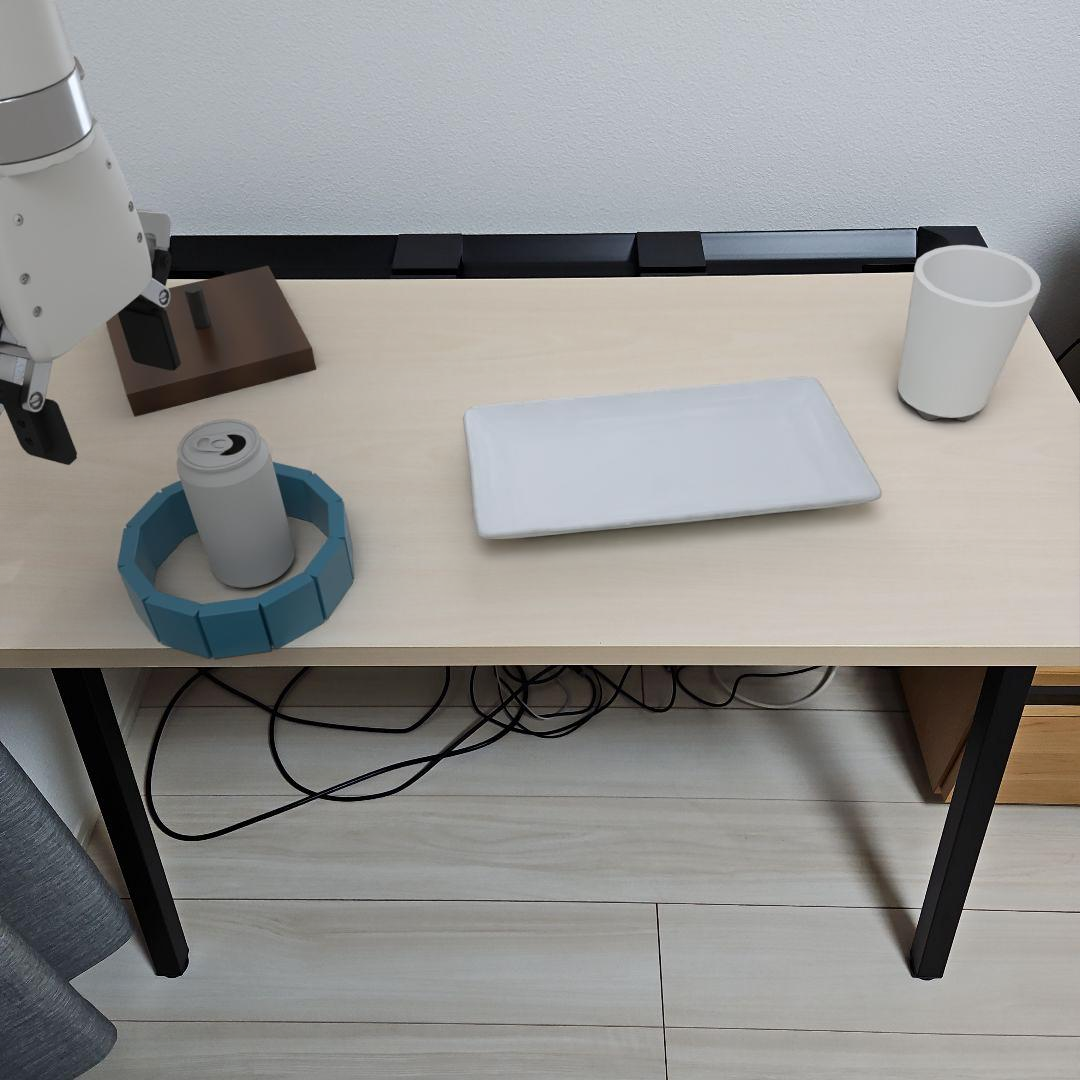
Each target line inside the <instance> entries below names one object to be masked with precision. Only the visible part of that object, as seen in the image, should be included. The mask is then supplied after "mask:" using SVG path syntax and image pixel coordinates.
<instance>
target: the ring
mask: <svg viewBox="0 0 1080 1080" xmlns="http://www.w3.org/2000/svg"><path fill="white" fill-rule="evenodd" d="M272 463H273V466H274V470H275V474H276V478H277V482H278V486H279V490H280V493H281V497H282V501H283V505H284V509H285V513H286V516H287V517H291V518H296V519H300V520H304V521H307V522H312V523H313V524H314V525H315V526H316V527H317V528H318V529H319V530H320V531H321V532H322V533H323V534H324V535H325V536H326V537H327V540H326V541H325V542H324V544H322V546H321V548H319V551H318V552H317V553H316V554H315V555H314V557H313V558H312V559H311V561H310V563H309V564H308V565H307V566H306V568H305V569H304V571H302V572H300V573H298V574H297V575H295V576H292V577H291V578H289V579H288V580H285V581H284V582H282V583H279V584H278V585H276V586H274V587H272V588H271V589H268V590H267V591H265V592H263V593H261V594H258V595H257V596H253V597H244V598H237V599H229V600H222V601H215V602H205V603H200V602H197V601H193V600H190V599H186V598H183V597H179V596H176V595H172V594H169V593H165V592H162V591H158V590H156V588H155V580H156V573H157V570H158V568H159V567H160V566H161V565H162V564H163V563H164V561H165V560H167V558H168V557H169V556H170V555H171V554H172V553H173V551H174V550H175V549H176V548H177V547H178V546H179V545H180V543H181V542H182V541H183V540H184V539H186V538H188V537H190V536H191V535H194V534H195V533H199V532H198V529H197V526H196V524H195V521H194V518H193V515H192V512H191V509H190V506H189V503H188V500H187V497H186V495H185V492H184V489H183V486H182V483H181V480H180V479H179V480H177V481H176V482H173V483H171V484H169V485H167V486H165V487H163V488H161V489H160V491H161V492H160V491H156V492H155V493H154V494H153V495H152V497H150V499H149V500H148V501H147V502H146V503H145V504H144V505H143V506H142V507H141V508H140V509H139V510H138V511H137V512H136V514H134V515H133V516H132V518H130V520H128V522H127V523H125V527H124V528H123V531H122V536H121V541H120V547H119V553H118V559H117V565H116V567H117V570H118V573H119V575H120V577H121V578H120V579H121V581H122V583H123V584H124V587H125V590H126V592H127V594H128V596H129V599H130V601H131V603H132V604H131V605H132V606H133V608H134V611H135V612H136V614H137V615H138V616H139V618H140V619H141V620H142V622H143V623H144V625H145V627H147V629H148V630H149V631H150V633H151V634H152V635H153V637H154V638H155V639H156V641H157V642H158V643H161V645H163V646H166V647H169V648H172V649H175V650H179V651H182V652H186V653H189V654H193V655H195V656H199V657H201V658H205V659H209V660H210V659H211V657H212V656H213V659H214V660H217V659H218V660H219V659H226V658H233V657H239V656H247V655H254V654H260V653H269V652H272V647H273V648H274V650H278V649H280V648H282V647H283V646H286V645H287V644H289V643H291V642H292V641H294V640H296V639H297V638H299V637H300V636H303V635H305V634H306V633H308V632H311V631H312V630H314V629H316V628H317V627H320V625H321V626H322V624H324V623H325V620H329V618H330V616H331V615H332V614H333V613H334V611H335V610H336V608H337V607H338V605H339V604H340V602H341V601H342V599H343V598H344V597H345V595H346V594H347V592H348V591H349V589H350V588H351V586H352V585H353V583H354V580H355V572H354V568H355V567H354V554H353V552H354V551H353V541H352V536H351V531H350V526H349V521H348V516H347V510H346V505H345V501H344V500H343V498H342V497H341V496H340V494H338V493H337V492H336V491H335V490H334V489H333V488H332V487H331V486H330V485H329V484H327V482H326V481H325V480H324V479H322V478H321V476H319V475H318V474H317V473H316V472H314V473H313V471H312V470H309V469H305V468H300V467H296V466H292V465H289V464H284V463H279V462H276V461H272Z"/></svg>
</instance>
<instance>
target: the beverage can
mask: <svg viewBox="0 0 1080 1080" xmlns="http://www.w3.org/2000/svg"><path fill="white" fill-rule="evenodd" d="M176 451H177V460H176V471H177V474H178V477H179V481H180V480H181V483H182V486H183V489H184V492H185V495H186V497H187V500H188V503H189V506H190V509H191V512H192V515H193V518H194V521H195V524H196V526H197V529H198V532H197V533H198V535H199V538H200V542H201V544H202V546H203V549H204V552H205V555H206V558H207V561H208V564H209V567H210V570H211V572H212V574H213V575H214V577H215V578H216V579H217V580H218V581H220V582H221V583H222V584H224V585H227V586H230V587H233V588H241V589H247V588H255V587H260V586H264V585H267V584H270V583H271V582H273V581H275V580H277V579H278V578H279V577H281V576H282V575H283V574H285V573H286V572H287V570H288V569H289V568H290V567H291V565H292V564H293V561H294V559H295V555H296V550H295V544H294V540H293V536H292V532H291V528H290V525H289V520H288V516H287V515H286V513H285V509H284V505H283V501H282V497H281V493H280V490H279V486H278V482H277V478H276V474H275V470H274V466H273V463H272V462H273V459H272V456H271V452H270V448H269V445H268V443H267V442H266V440H265V439H264V438H263V437H262V436H261V434H260V432H259V430H258V429H257V427H255V426H254V425H253V424H251V423H249V422H247V421H245V420H241V419H236V418H235V419H234V418H223V419H216V420H211V421H207V422H204V423H202V424H200V425H197V426H195V427H194V428H192V429H191V430H189V431H188V432H187V433H185V435H183V437H182V438H181V439H180V441H179V443H178V445H177V449H176Z"/></svg>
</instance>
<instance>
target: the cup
mask: <svg viewBox="0 0 1080 1080" xmlns="http://www.w3.org/2000/svg"><path fill="white" fill-rule="evenodd" d="M1041 285H1042V283H1041V280H1040V276H1039V275H1038V273H1037V272H1036V271H1035V269H1033V267H1032V266H1030V265H1029V264H1028V263H1027V262H1026V261H1024V260H1023V259H1021V258H1019V257H1017V256H1015V255H1012V254H1010V253H1008V252H1004V251H1002V250H999V249H995V248H991V247H985V246H981V245H972V244H971V245H970V244H955V245H947V246H943V247H938V248H934V249H932V250H929V251H927V252H925V253H923V254H922V255H921V256H920V257H918V258H917V259H916V262H915V265H914V270H913V277H912V284H911V291H910V297H909V304H908V311H907V317H906V323H905V324H906V325H905V332H904V339H903V344H902V345H903V347H902V353H901V359H900V367H899V372H898V373H899V374H898V379H897V380H898V381H897V395H898V399H899V400H900V401H901V402H903V403H906V404H908V405H909V406H911V407H912V408H913V409H914V410H915V411H917V412H918V414H919V415H920V416H921V417H922V418H923V419H924V420H926V421H934V420H937V419H949V418H950V419H956V420H958V421H961V422H962V421H963V422H967V421H969V420H971V419H972V418H973V417H974V416H976V415H977V413H979V412H980V411H981V410H982V409H983V408H984V407H985V406H986V405H987V402H988V401H989V398H990V397H991V394H992V392H993V390H994V388H995V386H996V384H997V382H998V380H999V377H1000V375H1001V374H1002V371H1003V369H1004V367H1005V365H1006V363H1007V360H1008V358H1009V356H1010V355H1011V352H1012V350H1013V348H1014V346H1015V344H1016V342H1017V340H1018V338H1019V335H1020V333H1021V331H1022V329H1023V327H1024V325H1025V322H1026V321H1027V318H1028V317H1029V314H1030V312H1031V310H1032V308H1033V306H1034V304H1035V302H1036V300H1037V297H1038V296H1039V293H1040V290H1041Z"/></svg>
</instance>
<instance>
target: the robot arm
mask: <svg viewBox="0 0 1080 1080" xmlns="http://www.w3.org/2000/svg"><path fill="white" fill-rule="evenodd" d="M84 79H85V69H84V66H83V64H82V63H81V61H80V60H79V59H78V58H77V57H76V56H75V55H74V53H73V50H72V45H71V42H70V39H69V36H68V32H67V29H66V26H65V23H64V19H63V16H62V13H61V10H60V6H59V3H58V0H0V405H2V406H3V408H4V411H5V413H6V415H7V417H8V420H9V422H10V424H11V427H12V429H13V432H14V434H15V436H16V438H17V440H18V443H19V445H20V447H21V448H22V450H23V451H24V452H25V453H26V454H27V455H29V456H31V457H32V456H33V457H36V458H40V459H42V460H43V459H44V460H47V461H51V462H54V463H58V464H61V465H66V466H70V465H72V464H73V463H74V462H75V461H76V460H77V459H78V456H77V455H78V452H77V449H76V446H75V445H74V441H73V439H72V435H71V433H70V431H69V428H68V426H67V423H66V421H65V418H64V416H63V413H62V411H61V408H60V405H59V403H58V402H56V401H55V400H54V399H50V398H47V392H48V387H49V382H50V377H51V371H52V368H53V367H52V366H53V362H54V361H55V360H57V359H59V358H61V357H62V356H64V355H65V354H66V353H68V352H69V351H70V350H72V349H73V348H75V347H76V346H77V345H78V344H80V343H81V342H82V341H84V340H85V339H86V338H88V337H89V336H90V335H91V334H93V333H94V332H95V331H96V330H98V329H99V328H101V327H102V326H103V325H104V324H106V322H107V321H108V320H109V319H111V318H112V317H113V316H114V315H116V314H117V313H118V316H119V320H120V323H121V326H122V329H123V332H124V335H125V338H126V342H127V345H128V348H129V351H130V354H131V357H132V359H133V361H134V362H136V363H140V364H144V365H148V366H152V367H157V368H161V369H165V370H172V371H174V370H176V369H177V368H178V367H179V366H180V365H181V361H180V358H179V354H178V351H177V347H176V344H175V340H174V336H173V333H172V329H171V326H170V322H169V319H168V315H167V311H166V310H164V307H166V306H167V305H168V304H169V302H170V298H171V294H170V291H169V289H168V288H169V287H167V282H168V278H169V275H170V274H169V273H170V271H171V266H172V261H173V260H172V254H171V252H170V251H168V249H169V248H170V241H171V223H172V221H171V216H170V215H169V213H166V212H162V211H156V210H152V209H143V208H142V209H141V208H137V207H136V205H135V202H134V200H133V196H132V193H131V191H130V188H129V186H128V183H127V181H126V178H125V175H124V173H123V171H122V168H121V166H120V164H119V161H118V159H117V156H116V155H115V153H114V151H113V148H112V146H111V144H110V142H109V140H108V138H107V136H106V134H105V133H104V130H103V129H102V127H101V124H100V123H99V121H98V120H97V118H95V117H94V116H92V113H91V110H90V107H89V103H88V100H87V97H86V94H85V90H84V89H85V88H84V86H83V83H82V81H83V80H84ZM18 358H21V359H23V360H26V361H25V362H26V363H25V368H24V373H23V379H22V383H21V384H19V383H16V382H14V379H15V373H16V368H17V364H18Z"/></svg>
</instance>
